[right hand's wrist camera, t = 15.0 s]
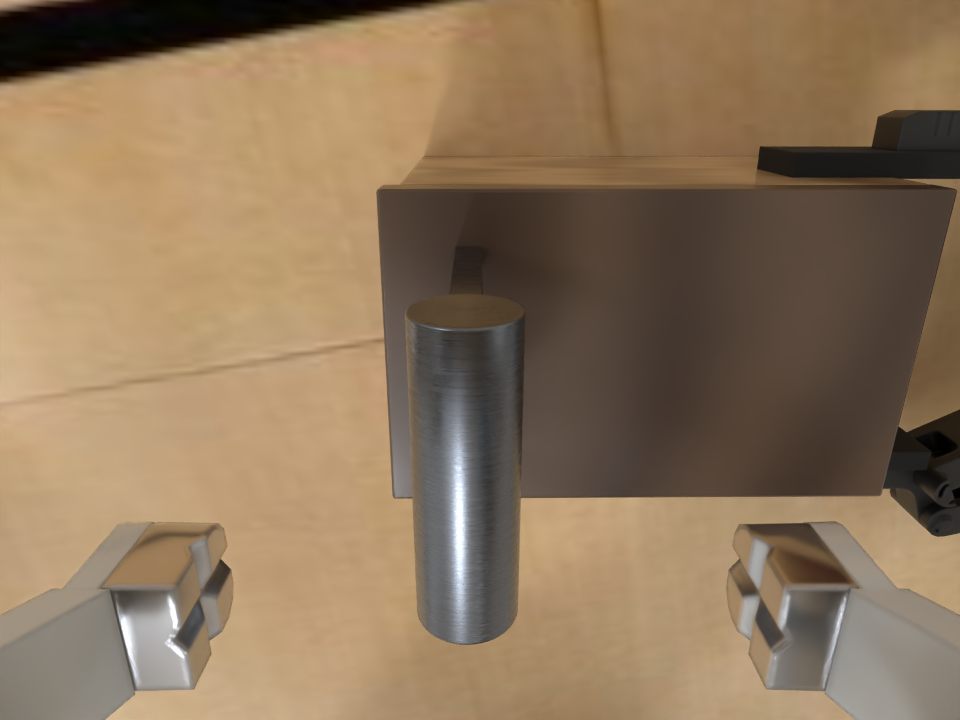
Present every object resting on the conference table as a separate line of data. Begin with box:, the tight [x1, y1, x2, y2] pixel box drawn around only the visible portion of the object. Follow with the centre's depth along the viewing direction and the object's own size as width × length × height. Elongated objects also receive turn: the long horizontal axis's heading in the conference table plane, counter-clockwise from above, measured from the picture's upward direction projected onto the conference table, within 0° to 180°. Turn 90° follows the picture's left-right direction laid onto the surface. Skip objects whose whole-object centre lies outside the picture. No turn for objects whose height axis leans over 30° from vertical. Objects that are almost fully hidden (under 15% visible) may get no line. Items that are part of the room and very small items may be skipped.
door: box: [377, 185, 957, 645], centre depth 16 cm, size 15×9×8 cm, turn 90°
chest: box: [400, 156, 928, 185], centre depth 25 cm, size 15×9×10 cm, turn 90°
